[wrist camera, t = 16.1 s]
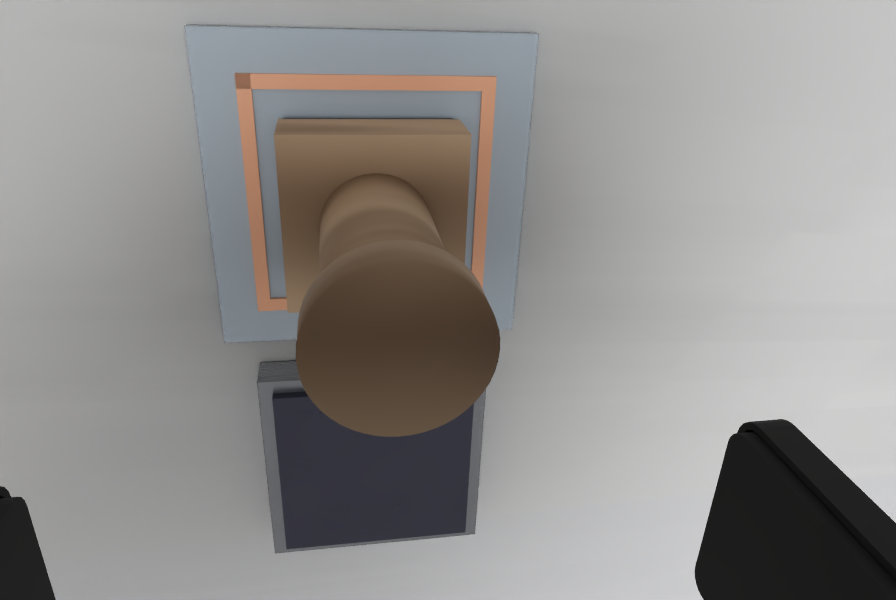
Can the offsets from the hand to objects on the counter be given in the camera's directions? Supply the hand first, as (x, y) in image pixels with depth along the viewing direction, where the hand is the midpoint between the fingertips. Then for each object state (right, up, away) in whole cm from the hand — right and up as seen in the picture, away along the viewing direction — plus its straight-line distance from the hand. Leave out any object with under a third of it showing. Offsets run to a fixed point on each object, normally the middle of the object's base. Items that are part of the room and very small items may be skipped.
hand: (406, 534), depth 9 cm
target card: (-2, +6, +12) cm, 13 cm away
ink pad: (-2, -2, +16) cm, 16 cm away
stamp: (-2, +6, +11) cm, 13 cm away
